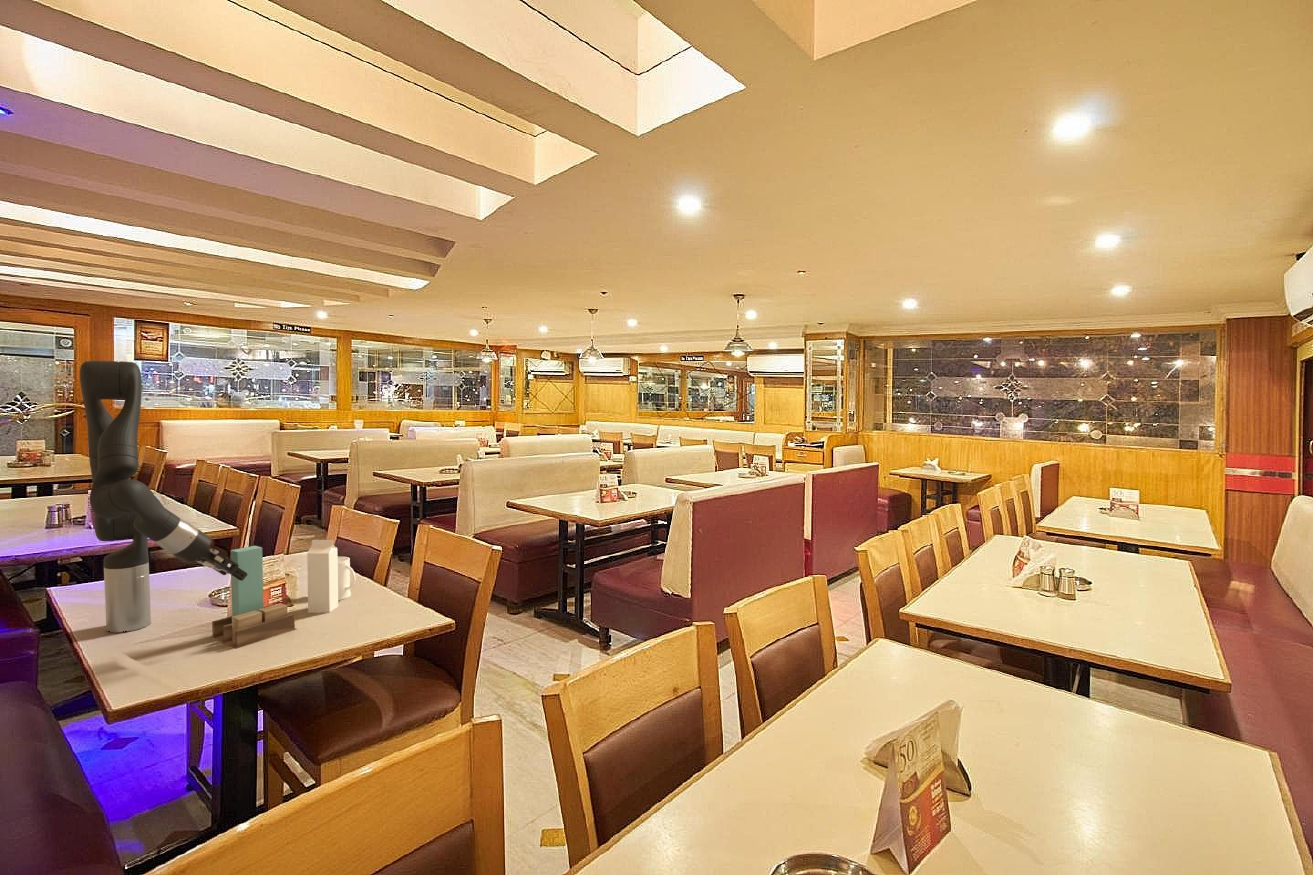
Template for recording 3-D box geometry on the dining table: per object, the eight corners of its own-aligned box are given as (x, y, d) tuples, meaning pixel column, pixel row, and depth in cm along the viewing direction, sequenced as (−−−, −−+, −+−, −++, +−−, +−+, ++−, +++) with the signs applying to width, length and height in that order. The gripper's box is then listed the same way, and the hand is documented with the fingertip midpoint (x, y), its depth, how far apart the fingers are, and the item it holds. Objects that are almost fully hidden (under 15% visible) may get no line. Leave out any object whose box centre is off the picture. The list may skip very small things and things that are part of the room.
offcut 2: (259, 633, 160) (258, 609, 160) (281, 626, 165) (280, 603, 165) (265, 636, 159) (265, 611, 158) (287, 629, 164) (287, 605, 163)
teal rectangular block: (232, 632, 161) (230, 550, 159) (256, 625, 166) (255, 545, 164) (239, 635, 159) (237, 552, 157) (264, 628, 164) (262, 547, 162)
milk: (317, 610, 182) (316, 537, 181) (338, 610, 183) (337, 537, 181) (307, 617, 176) (306, 542, 175) (329, 617, 177) (328, 542, 175)
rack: (210, 642, 158) (209, 621, 157) (270, 624, 171) (270, 604, 170) (236, 654, 151) (235, 632, 151) (297, 634, 164) (297, 614, 164)
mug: (364, 596, 195) (364, 559, 194) (341, 604, 187) (341, 566, 186) (337, 590, 200) (337, 554, 199) (314, 598, 192) (313, 561, 191)
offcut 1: (232, 641, 155) (231, 616, 154) (256, 634, 160) (255, 610, 159) (238, 644, 153) (238, 619, 153) (262, 637, 158) (261, 612, 158)
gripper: (209, 530, 147) (261, 566, 157) (181, 523, 154) (232, 558, 164) (184, 557, 142) (239, 592, 153) (156, 548, 149) (210, 582, 160)
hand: (235, 574), depth 159 cm, fingers open, 8 cm apart
